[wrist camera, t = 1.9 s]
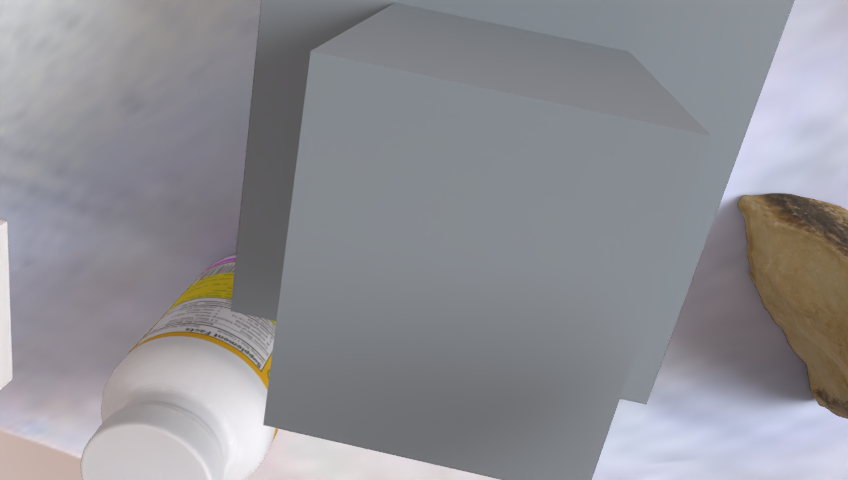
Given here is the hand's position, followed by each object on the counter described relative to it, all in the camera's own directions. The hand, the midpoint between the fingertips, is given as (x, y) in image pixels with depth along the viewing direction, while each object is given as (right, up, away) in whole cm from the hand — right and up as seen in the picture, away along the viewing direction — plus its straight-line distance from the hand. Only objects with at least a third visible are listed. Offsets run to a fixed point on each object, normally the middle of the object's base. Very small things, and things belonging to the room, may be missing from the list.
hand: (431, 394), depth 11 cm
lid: (+2, +5, +14) cm, 15 cm away
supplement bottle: (-8, -1, +26) cm, 28 cm away
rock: (+17, 0, +23) cm, 29 cm away
